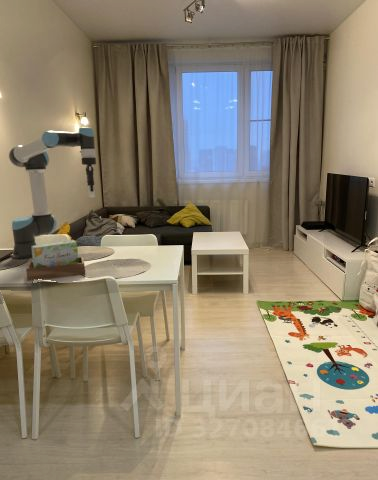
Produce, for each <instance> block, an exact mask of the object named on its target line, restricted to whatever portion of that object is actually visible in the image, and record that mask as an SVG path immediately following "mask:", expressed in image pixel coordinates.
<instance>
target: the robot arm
mask: <svg viewBox="0 0 378 480" xmlns="http://www.w3.org/2000/svg"><path fill="white" fill-rule="evenodd" d="M94 132H95V131H94V128H92V127H87V126H86V127H84V126H82V127H79V129H78V131H76V132H73V131H72V132H71V131H70V132H69V131H55V130H46V131H44V132H43V133H42V135H41V137H40V136H39V137H38V138H37V139H34V140H32V141H29V142H28V143H26V144H23V145H17V146H15V147H12V148H11V149H10V151H9V153H8V159H9V161H10V162H11V164H13V166H16V167H18V168H24V169H25V171H26V172H27V173H28V177H29V185H30V186H29V187H30V191H31V193H30V194H31V200H32V206H33V207H32V209H33V212H32V213H31V216H30V215H29V216H21V217H17V218H15V219H13V220H12V222H11V229H12V234H13V242H14V246H13V251H12V258H13V257H14V258H13V259H17V258H24V259H31V258H33V257H32V247H31V246H34V245H37V243H36V237H40V236H45V235H49V234H52V233H54V232H55V230H57V224H58V223H57V219H56V217H55V216H54V215H52V212H51V211H50V210H49V204H48V196H47V189H46V179H45V171H46V170H47V167H48V166H49V163H50V157H49V155H48V153H47V151H49V150H51V149H54V148H57V147H68V148H75V147H80V151H79V153H80V155H81V165H84V166H85V165H86V166H85V172H86V173H85V175H86V179H87V180H86V183H87V194H88V196H89V198H91V199H92V198H96V191H95V180H94V167H93V165H97V159H96V148H95V147H96V143H95V142H96V141H95V133H94Z"/></svg>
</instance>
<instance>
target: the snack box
mask: <svg viewBox="0 0 378 480" xmlns="http://www.w3.org/2000/svg"><path fill="white" fill-rule="evenodd" d="M31 247H32V257H31V258H32V262H33V266H34V268H38V267H48V266H58V265H68V264H78V263H79V262H78V257H79V251H78V241H76V240H73V239H72V240H66V241H58V242H50V243H43V244H36V245H34V246H31Z"/></svg>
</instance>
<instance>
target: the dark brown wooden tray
mask: <svg viewBox="0 0 378 480" xmlns="http://www.w3.org/2000/svg"><path fill="white" fill-rule="evenodd" d="M84 259H85V258H84V256H78V262H79V263H78V264H68V265H58V266H48V267H38V268H34V266H33V261H28V263H27V266H26V270H25V271H26V278H27V281H28V282H29V281H35V280H34V279H39V280H45V279H54V278H55V279H56V278H65V277H66V278H67V277H73V276H74V277H75V276H83V275H86V267H85V266H86V265H85V260H84Z"/></svg>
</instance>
